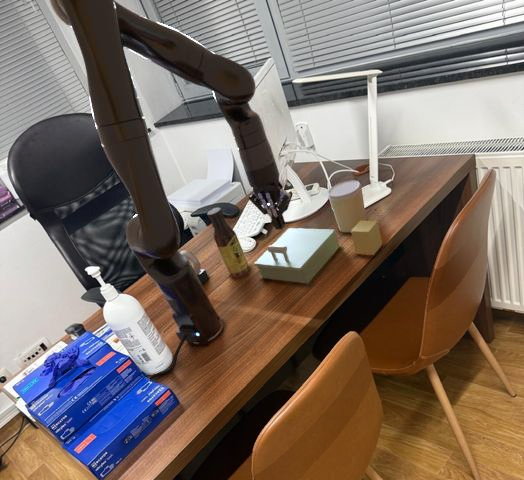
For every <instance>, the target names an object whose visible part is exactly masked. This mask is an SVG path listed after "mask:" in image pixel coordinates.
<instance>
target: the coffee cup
mask: <svg viewBox="0 0 524 480" xmlns="http://www.w3.org/2000/svg"><path fill="white" fill-rule="evenodd" d="M327 198H328V200H329V203H330V205H331V209H332V212H333V214H334V218H335V221H336V224H337V226H338V229H339V231H340V232H341V233H342V232H343V233H351V230H352V229H353V228H354V227H355V226H356V225H357V224H358V222H359V221H367V215H366V208H365V202H364V201H365V200H364V195H363V186H362V184H361V183H360V181H358V180H356V179H355V180H354V179H351V180H350V179H349V180H345V181H341V182H339V183H336V184H335V185H333V186H332V187H330V189H328V191H327Z"/></svg>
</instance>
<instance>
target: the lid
mask: <svg viewBox="0 0 524 480" xmlns="http://www.w3.org/2000/svg"><path fill="white" fill-rule="evenodd" d="M335 232H336V233H337V231H336V229H330V228H329V229H328V228H300V227H297V228H295V227H288V229H287V230H286V231H284V232H283V233H282V235H280V236H279V237H278V238H277V240H276V241H274V242H273V244H272V245H271V244H270V245H268V247H267V250H266V251H264V253H262V254H261V256H260V257H258V259H256V261H254V263H253V265H254V266H255V267H258V266H261V267H271V268H280V269H290V270H299V271H301V270H302V269H303V268H304V267H305V266H306V265H307V264H308V262H309V261H310V260H311V259H312V258H313V257H314V256H315V255H316V254H317V252H318V251H319V250H320V249H321V248H322V247H323V246H324V245H325V244H326V242H327V241H328V240H329V239H330V238H331V237H332V236H333V235H334V234H335Z"/></svg>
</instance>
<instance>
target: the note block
mask: <svg viewBox="0 0 524 480" xmlns="http://www.w3.org/2000/svg"><path fill="white" fill-rule="evenodd" d="M350 233H351V237H352V242H353V246H354V251H355V253H356V255H366V256H375V254H376V253H377V251H379V249H380V248H381V247H382V245H383V240H382V236H381V230H380V226H379V221H378V220H366V221H359V222H358V224H357V225H356V226H355V227H354V228H353V229H352V230H351V232H350Z"/></svg>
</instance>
